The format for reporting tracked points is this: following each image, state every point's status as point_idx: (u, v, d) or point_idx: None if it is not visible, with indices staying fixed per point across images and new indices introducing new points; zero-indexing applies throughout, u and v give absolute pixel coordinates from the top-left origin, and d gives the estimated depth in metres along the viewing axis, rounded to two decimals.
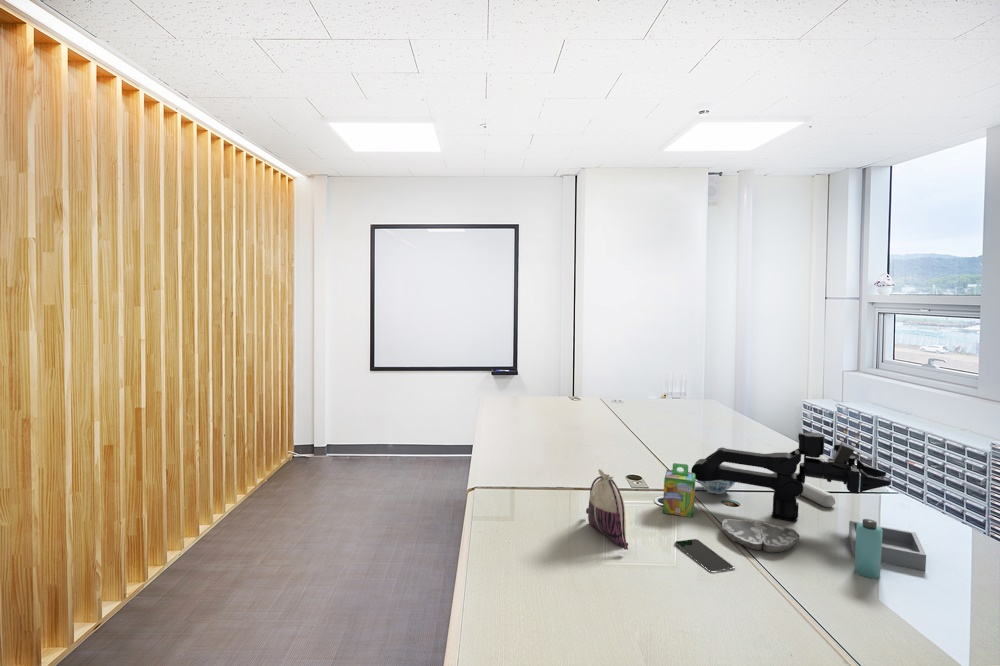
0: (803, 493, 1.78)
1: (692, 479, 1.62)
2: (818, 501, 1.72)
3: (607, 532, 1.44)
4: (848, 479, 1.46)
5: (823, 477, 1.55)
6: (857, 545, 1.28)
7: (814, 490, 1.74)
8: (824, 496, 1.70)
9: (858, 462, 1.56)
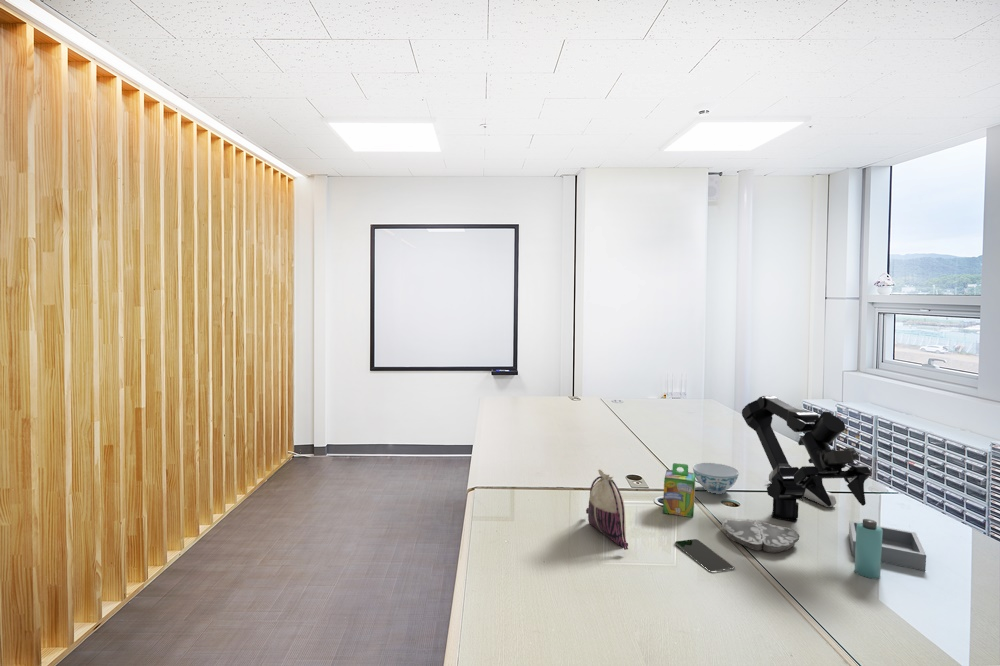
0: None
1: (692, 479, 1.62)
2: (819, 501, 1.72)
3: (607, 532, 1.44)
4: (798, 470, 1.41)
5: (809, 455, 1.48)
6: (857, 545, 1.28)
7: None
8: None
9: (857, 476, 1.39)
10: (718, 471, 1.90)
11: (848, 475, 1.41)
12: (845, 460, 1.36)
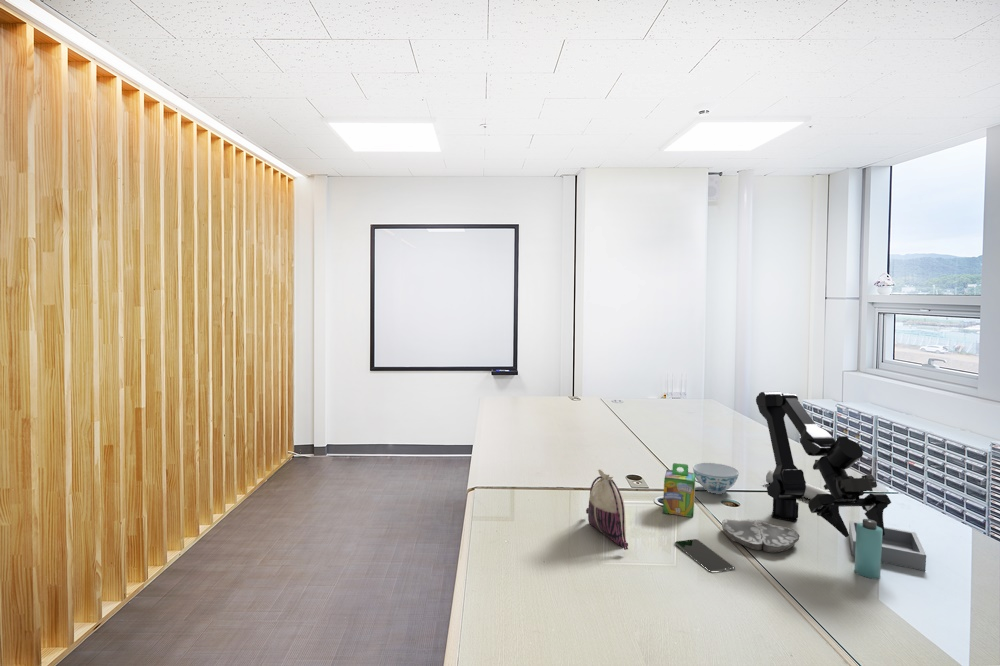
0: None
1: (692, 479, 1.62)
2: None
3: (607, 532, 1.44)
4: None
5: None
6: (857, 545, 1.28)
7: (815, 490, 1.74)
8: None
9: (876, 505, 1.32)
10: (718, 471, 1.90)
11: (866, 503, 1.35)
12: (863, 488, 1.29)
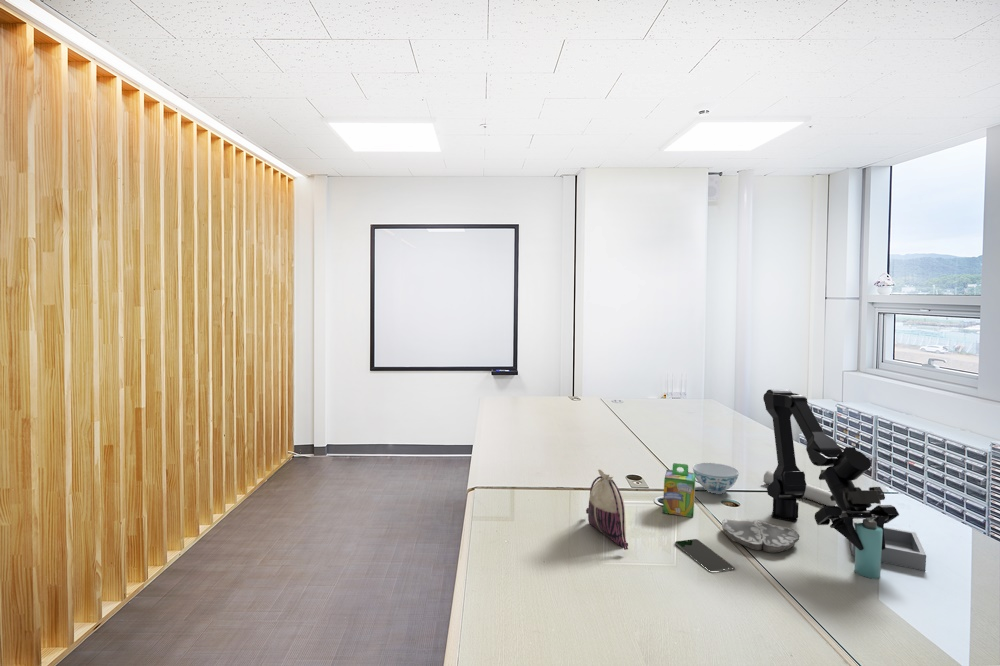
0: None
1: (692, 479, 1.62)
2: (822, 501, 1.71)
3: (607, 532, 1.44)
4: (820, 509, 1.32)
5: (831, 492, 1.38)
6: None
7: (816, 490, 1.74)
8: (828, 496, 1.70)
9: (876, 517, 1.30)
10: (718, 471, 1.90)
11: (866, 515, 1.32)
12: (871, 501, 1.27)
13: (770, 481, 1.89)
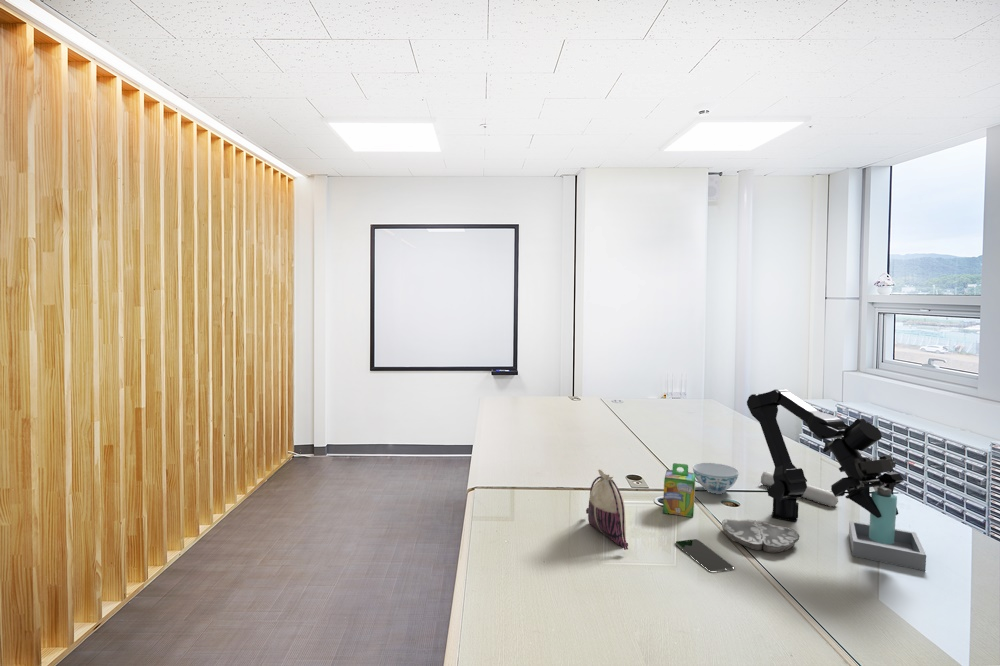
0: (803, 494, 1.77)
1: (692, 479, 1.62)
2: (823, 501, 1.72)
3: (607, 532, 1.44)
4: (838, 481, 1.34)
5: (839, 463, 1.42)
6: None
7: (816, 490, 1.74)
8: (830, 496, 1.70)
9: (887, 485, 1.35)
10: (718, 471, 1.90)
11: (876, 484, 1.37)
12: (887, 469, 1.31)
13: (768, 482, 1.88)
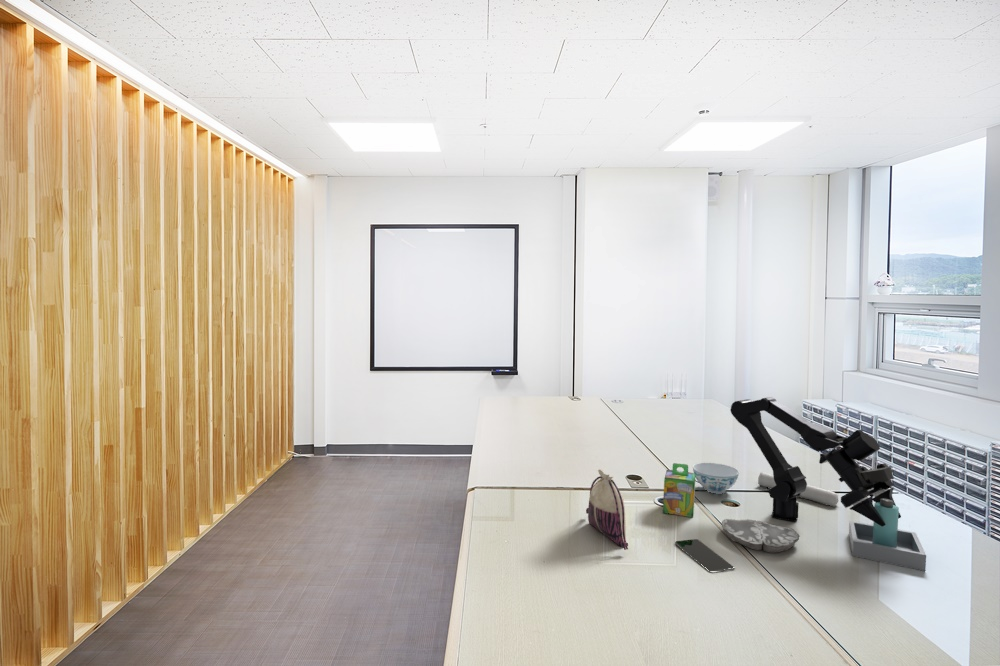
0: (803, 494, 1.77)
1: (692, 479, 1.62)
2: (824, 501, 1.72)
3: (607, 532, 1.44)
4: (849, 493, 1.39)
5: (839, 474, 1.47)
6: None
7: (817, 490, 1.74)
8: (831, 495, 1.71)
9: (887, 490, 1.43)
10: (718, 471, 1.90)
11: (877, 490, 1.45)
12: (890, 478, 1.38)
13: (765, 483, 1.87)
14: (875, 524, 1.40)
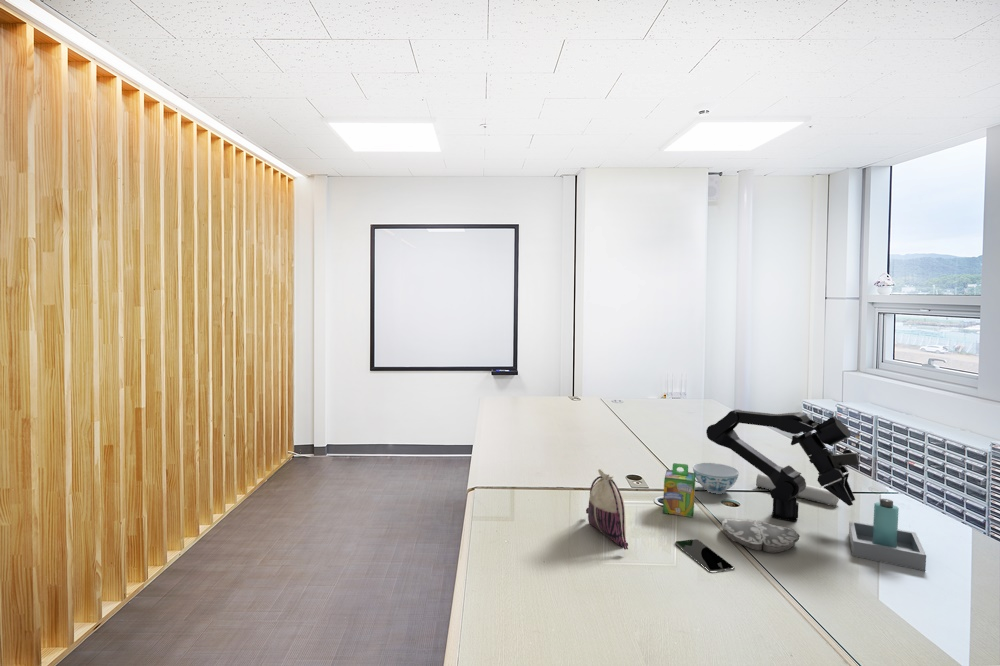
0: (803, 495, 1.77)
1: (692, 479, 1.62)
2: (826, 501, 1.72)
3: (607, 532, 1.44)
4: (828, 472, 1.45)
5: (810, 455, 1.54)
6: (879, 524, 1.39)
7: (817, 490, 1.74)
8: (832, 495, 1.71)
9: (846, 475, 1.54)
10: (718, 471, 1.90)
11: None
12: (859, 462, 1.48)
13: (764, 484, 1.86)
14: (875, 524, 1.40)
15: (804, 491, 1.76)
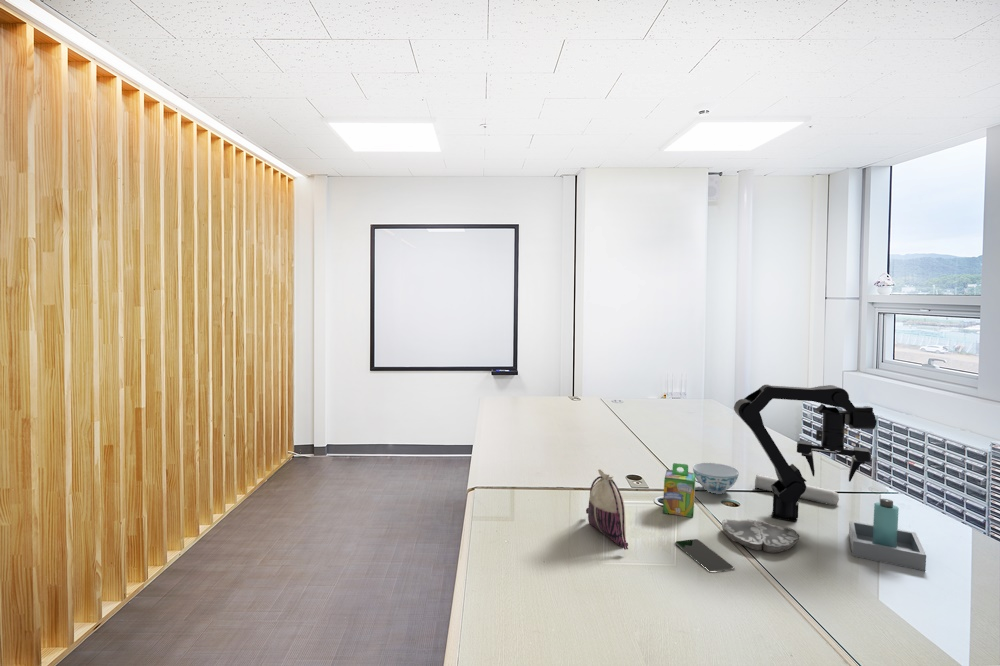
0: (804, 495, 1.76)
1: (692, 479, 1.62)
2: (827, 501, 1.72)
3: (607, 532, 1.44)
4: None
5: (842, 430, 1.56)
6: (879, 524, 1.39)
7: (817, 490, 1.74)
8: (833, 495, 1.71)
9: (812, 452, 1.63)
10: (718, 471, 1.90)
11: None
12: None
13: (763, 485, 1.85)
14: (875, 524, 1.40)
15: None
